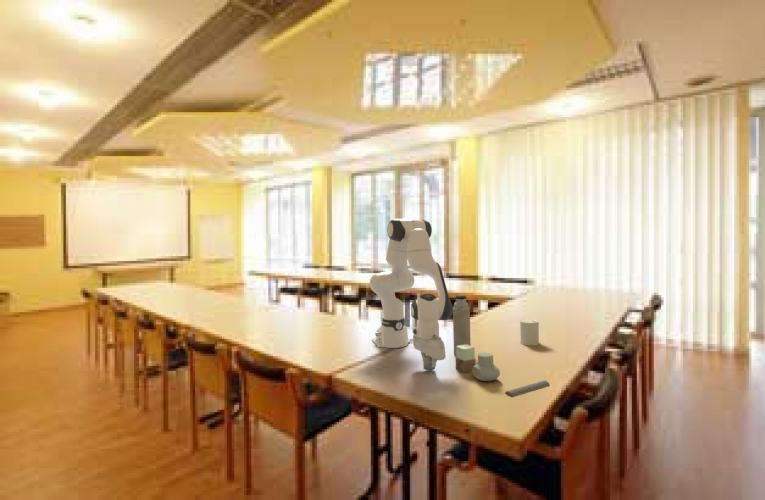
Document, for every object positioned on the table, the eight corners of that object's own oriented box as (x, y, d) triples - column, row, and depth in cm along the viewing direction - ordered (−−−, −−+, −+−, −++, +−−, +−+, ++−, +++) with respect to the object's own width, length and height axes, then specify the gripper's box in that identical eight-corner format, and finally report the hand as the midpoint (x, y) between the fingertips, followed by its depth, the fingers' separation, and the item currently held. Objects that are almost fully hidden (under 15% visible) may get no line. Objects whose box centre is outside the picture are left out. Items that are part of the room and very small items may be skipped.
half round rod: (550, 387, 156) (550, 382, 156) (512, 398, 147) (512, 393, 147) (541, 383, 160) (541, 379, 159) (504, 394, 150) (504, 389, 150)
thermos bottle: (455, 350, 203) (453, 294, 201) (471, 351, 200) (470, 295, 199) (452, 355, 195) (451, 297, 194) (469, 356, 193) (468, 297, 191)
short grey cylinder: (421, 367, 177) (420, 356, 177) (430, 365, 179) (430, 354, 179) (427, 371, 172) (427, 359, 172) (437, 368, 175) (437, 357, 174)
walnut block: (455, 368, 178) (455, 357, 177) (467, 366, 180) (466, 355, 180) (464, 373, 172) (464, 361, 172) (475, 370, 175) (475, 358, 175)
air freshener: (502, 382, 161) (502, 357, 160) (483, 385, 158) (483, 359, 158) (487, 373, 171) (487, 349, 171) (470, 375, 169) (469, 351, 168)
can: (533, 346, 205) (533, 322, 205) (516, 343, 212) (516, 320, 212) (542, 342, 212) (542, 319, 211) (526, 339, 218) (525, 317, 218)
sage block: (456, 357, 177) (456, 346, 177) (466, 355, 180) (466, 344, 180) (464, 361, 172) (463, 349, 172) (474, 358, 175) (474, 347, 175)
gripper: (448, 337, 167) (449, 370, 168) (422, 326, 185) (423, 356, 186) (435, 339, 164) (436, 373, 165) (410, 328, 182) (411, 358, 183)
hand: (429, 364), depth 176 cm, fingers closed on short grey cylinder, 5 cm apart
